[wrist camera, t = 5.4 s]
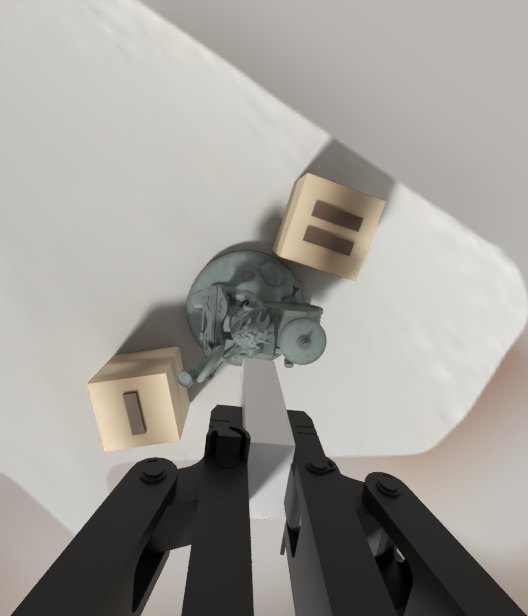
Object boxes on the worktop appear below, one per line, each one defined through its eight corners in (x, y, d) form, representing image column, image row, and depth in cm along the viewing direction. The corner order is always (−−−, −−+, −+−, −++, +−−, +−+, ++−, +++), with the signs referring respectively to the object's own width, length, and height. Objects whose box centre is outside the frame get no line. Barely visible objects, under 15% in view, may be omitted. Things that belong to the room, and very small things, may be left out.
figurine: (191, 245, 30) (160, 259, 18) (311, 256, 31) (355, 276, 19) (186, 358, 32) (156, 434, 21) (297, 365, 33) (329, 441, 22)
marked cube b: (272, 250, 30) (280, 256, 24) (294, 182, 29) (308, 172, 23) (333, 270, 31) (356, 281, 25) (358, 205, 30) (387, 201, 24)
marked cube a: (128, 411, 33) (104, 453, 27) (114, 354, 32) (85, 385, 26) (190, 403, 34) (179, 442, 28) (179, 345, 32) (165, 374, 26)
